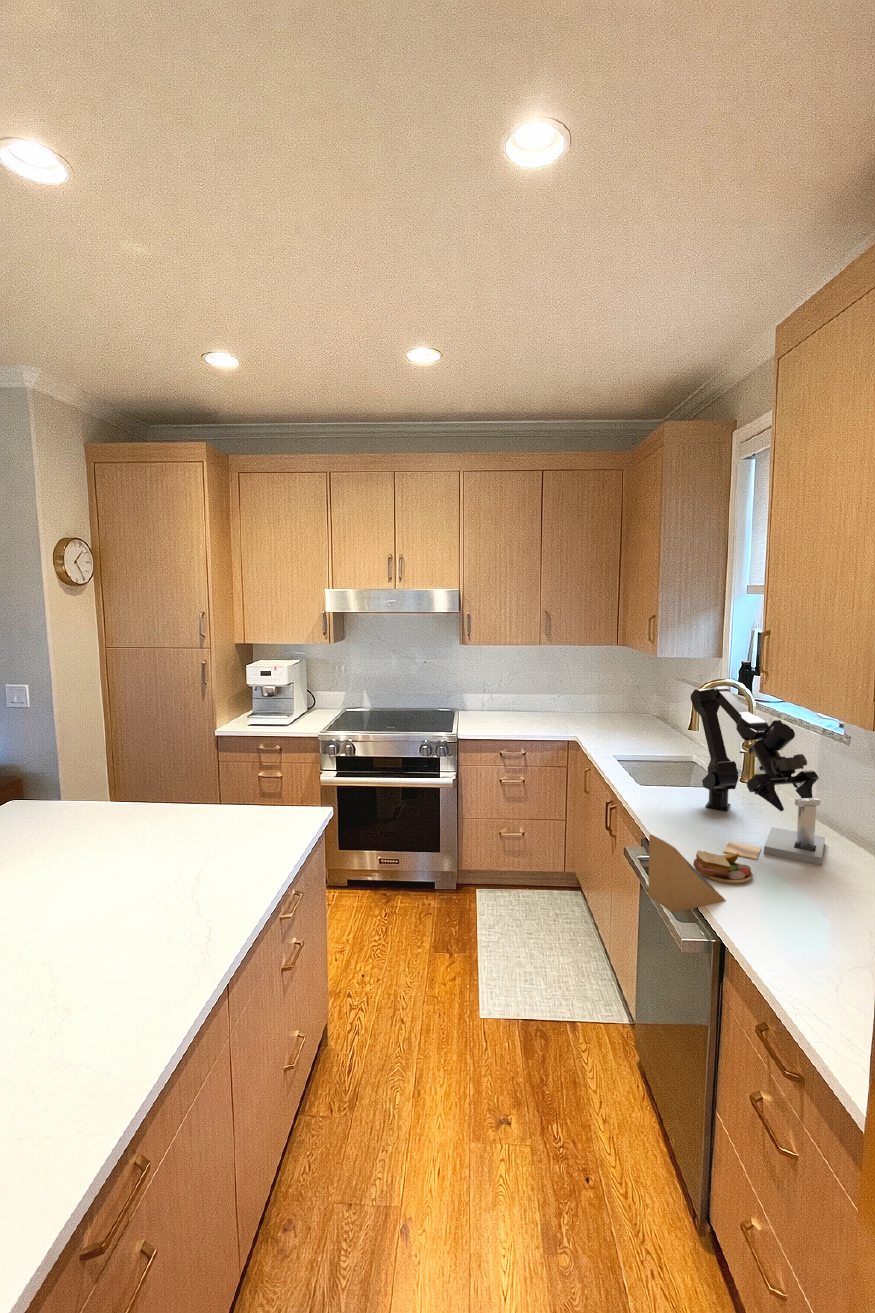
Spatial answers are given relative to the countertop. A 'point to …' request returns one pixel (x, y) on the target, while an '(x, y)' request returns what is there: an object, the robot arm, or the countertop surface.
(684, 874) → the sandwich container
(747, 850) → the coaster
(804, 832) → the t key
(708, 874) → the toy sandwich meal
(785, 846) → the cover plate
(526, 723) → the countertop surface
